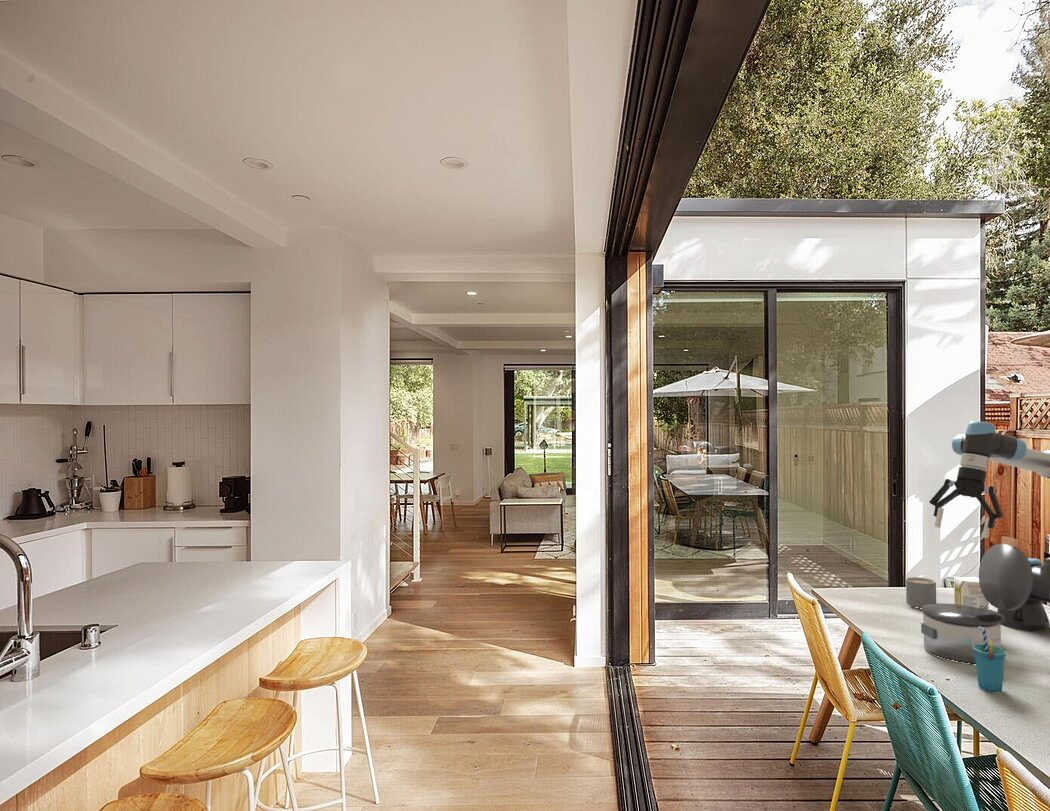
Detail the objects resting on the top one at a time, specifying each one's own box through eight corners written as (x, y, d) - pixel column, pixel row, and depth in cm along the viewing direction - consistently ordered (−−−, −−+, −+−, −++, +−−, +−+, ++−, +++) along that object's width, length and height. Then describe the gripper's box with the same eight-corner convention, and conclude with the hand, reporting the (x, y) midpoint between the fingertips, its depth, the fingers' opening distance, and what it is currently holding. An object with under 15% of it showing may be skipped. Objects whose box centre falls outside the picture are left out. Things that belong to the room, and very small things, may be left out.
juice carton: (992, 639, 212) (991, 581, 213) (965, 639, 213) (964, 581, 213) (977, 631, 220) (976, 575, 220) (951, 631, 220) (950, 575, 221)
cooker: (976, 641, 211) (975, 603, 211) (1024, 665, 190) (1022, 623, 190) (908, 642, 211) (907, 603, 211) (949, 666, 190) (947, 624, 191)
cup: (964, 675, 184) (963, 622, 184) (997, 679, 181) (995, 625, 181) (980, 696, 171) (979, 639, 171) (1015, 700, 168) (1014, 642, 168)
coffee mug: (937, 611, 243) (936, 584, 243) (906, 607, 248) (905, 581, 248) (935, 602, 255) (934, 576, 255) (906, 598, 260) (905, 574, 260)
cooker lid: (974, 598, 211) (985, 600, 211) (1020, 617, 191) (1032, 619, 191) (984, 531, 211) (995, 533, 211) (1031, 543, 191) (1043, 545, 191)
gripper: (926, 460, 218) (914, 521, 216) (1015, 473, 198) (1002, 541, 196) (935, 464, 222) (923, 524, 221) (1022, 477, 202) (1010, 543, 201)
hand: (960, 532), depth 209 cm, fingers open, 13 cm apart
